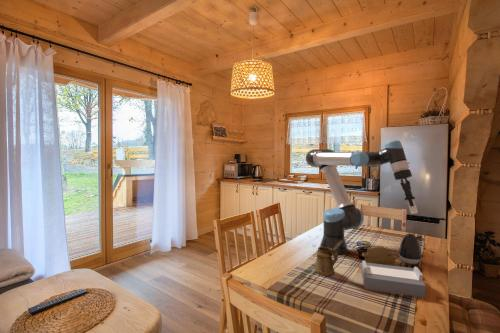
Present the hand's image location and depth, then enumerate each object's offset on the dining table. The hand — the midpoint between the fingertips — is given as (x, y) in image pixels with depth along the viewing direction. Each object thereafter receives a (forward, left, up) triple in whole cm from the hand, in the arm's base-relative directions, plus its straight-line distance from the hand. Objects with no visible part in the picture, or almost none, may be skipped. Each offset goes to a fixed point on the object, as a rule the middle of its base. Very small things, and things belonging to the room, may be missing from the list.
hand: (414, 213), depth 126 cm
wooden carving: (-15, +1, -28) cm, 32 cm away
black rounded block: (+1, +9, -28) cm, 30 cm away
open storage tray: (-13, -19, -28) cm, 36 cm away
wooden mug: (-39, -17, -28) cm, 51 cm away
